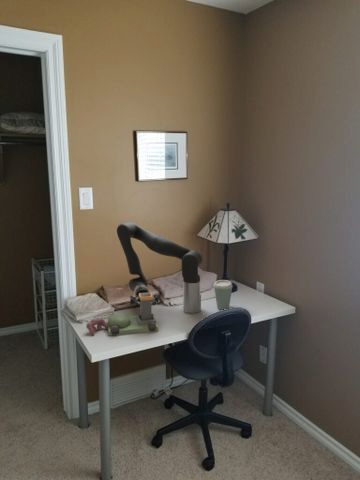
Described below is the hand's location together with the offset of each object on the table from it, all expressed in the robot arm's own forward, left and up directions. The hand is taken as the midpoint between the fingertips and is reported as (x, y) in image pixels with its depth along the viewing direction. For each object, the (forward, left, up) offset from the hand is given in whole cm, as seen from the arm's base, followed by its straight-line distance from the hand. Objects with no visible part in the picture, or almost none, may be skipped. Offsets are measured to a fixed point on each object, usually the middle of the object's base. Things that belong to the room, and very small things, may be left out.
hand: (145, 304), depth 196 cm
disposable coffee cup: (-45, -13, -11) cm, 48 cm away
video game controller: (+24, +1, -11) cm, 27 cm away
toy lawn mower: (+7, 0, -11) cm, 13 cm away
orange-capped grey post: (0, 0, -9) cm, 9 cm away
